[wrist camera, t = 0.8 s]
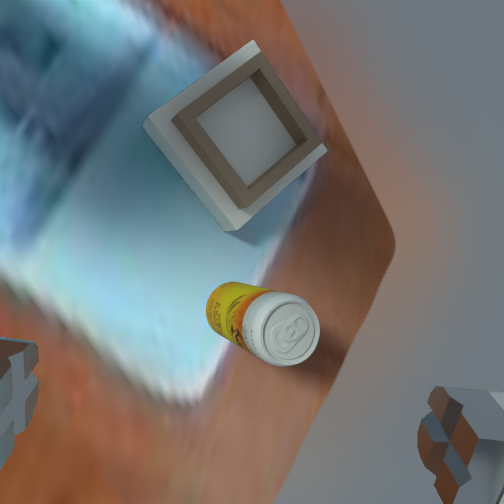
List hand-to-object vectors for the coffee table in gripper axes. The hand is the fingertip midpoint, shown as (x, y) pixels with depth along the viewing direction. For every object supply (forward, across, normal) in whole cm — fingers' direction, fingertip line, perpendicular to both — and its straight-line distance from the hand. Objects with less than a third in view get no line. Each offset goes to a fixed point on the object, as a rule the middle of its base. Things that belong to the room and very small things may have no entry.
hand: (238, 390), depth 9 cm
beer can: (+38, -2, +18) cm, 42 cm away
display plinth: (+44, 0, 0) cm, 44 cm away
